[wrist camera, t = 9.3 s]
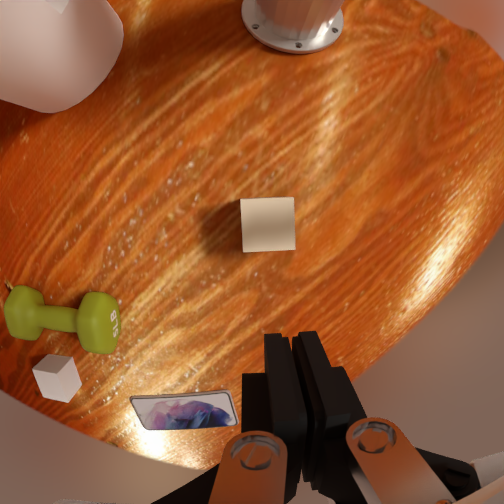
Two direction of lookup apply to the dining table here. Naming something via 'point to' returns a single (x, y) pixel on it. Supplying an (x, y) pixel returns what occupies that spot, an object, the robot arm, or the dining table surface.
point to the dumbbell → (65, 318)
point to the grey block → (57, 377)
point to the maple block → (268, 224)
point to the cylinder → (56, 51)
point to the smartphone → (186, 410)
